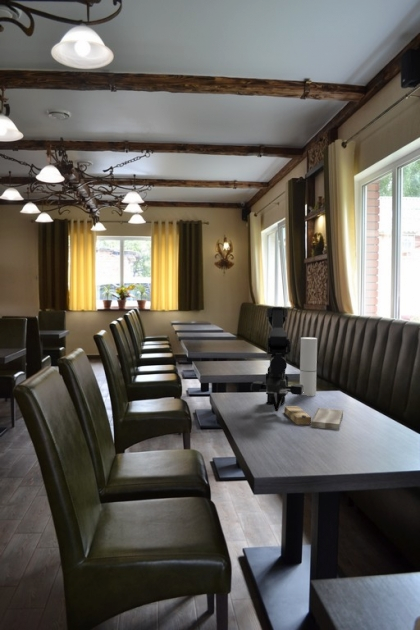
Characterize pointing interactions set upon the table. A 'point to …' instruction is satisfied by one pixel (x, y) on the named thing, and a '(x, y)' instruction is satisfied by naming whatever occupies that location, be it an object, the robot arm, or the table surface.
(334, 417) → the floor board
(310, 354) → the cylindrical container
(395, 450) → the table surface
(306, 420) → the plank
